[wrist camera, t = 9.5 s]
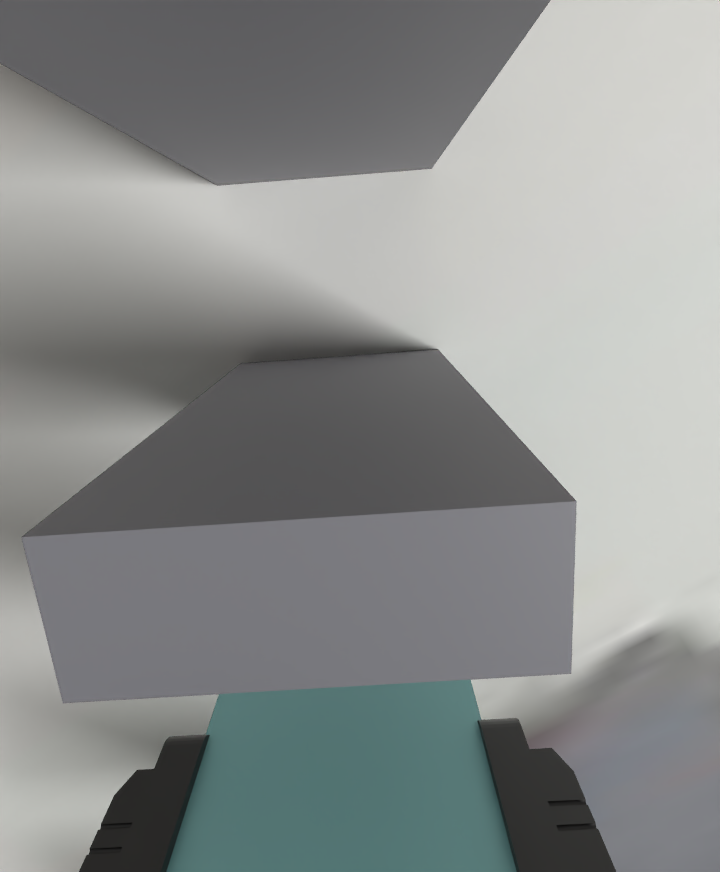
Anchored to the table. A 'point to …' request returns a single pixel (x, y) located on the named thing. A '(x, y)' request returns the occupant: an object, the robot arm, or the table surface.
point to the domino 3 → (345, 784)
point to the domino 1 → (271, 76)
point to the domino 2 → (311, 541)
